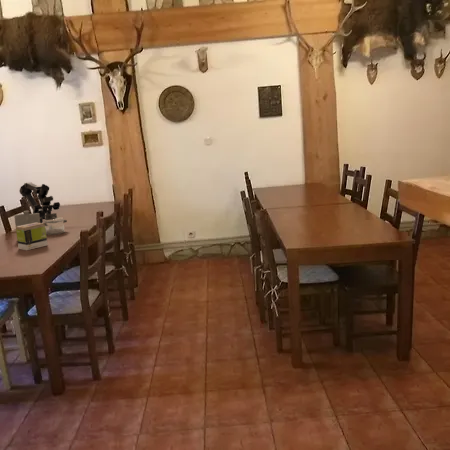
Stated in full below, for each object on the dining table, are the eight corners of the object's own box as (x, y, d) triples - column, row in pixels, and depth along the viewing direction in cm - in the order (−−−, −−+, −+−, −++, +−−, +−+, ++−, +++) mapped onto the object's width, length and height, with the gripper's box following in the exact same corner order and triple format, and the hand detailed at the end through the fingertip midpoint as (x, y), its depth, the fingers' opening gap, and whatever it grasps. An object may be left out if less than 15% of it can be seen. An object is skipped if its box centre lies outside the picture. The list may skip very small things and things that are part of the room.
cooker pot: (39, 233, 377) (38, 221, 375) (63, 229, 387) (62, 217, 386) (46, 236, 367) (44, 223, 365) (70, 232, 377) (69, 219, 376)
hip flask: (42, 238, 361) (38, 209, 358) (41, 239, 358) (38, 210, 354) (17, 240, 358) (14, 211, 354) (16, 241, 354) (13, 212, 350)
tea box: (39, 244, 343) (36, 221, 340) (48, 245, 336) (45, 223, 333) (18, 248, 331) (15, 225, 328) (26, 250, 325) (23, 227, 322)
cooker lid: (41, 220, 377) (40, 215, 376) (59, 217, 385) (59, 212, 384) (47, 222, 366) (47, 217, 365) (66, 220, 374) (66, 214, 373)
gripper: (32, 194, 376) (39, 211, 369) (57, 191, 387) (65, 207, 380) (30, 204, 383) (36, 220, 377) (55, 200, 394) (62, 216, 388)
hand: (50, 216), depth 380 cm, fingers closed, pressing on cooker lid
